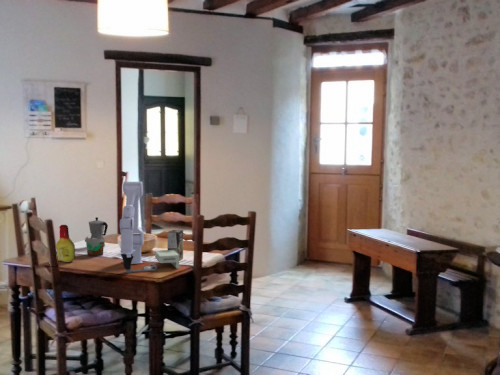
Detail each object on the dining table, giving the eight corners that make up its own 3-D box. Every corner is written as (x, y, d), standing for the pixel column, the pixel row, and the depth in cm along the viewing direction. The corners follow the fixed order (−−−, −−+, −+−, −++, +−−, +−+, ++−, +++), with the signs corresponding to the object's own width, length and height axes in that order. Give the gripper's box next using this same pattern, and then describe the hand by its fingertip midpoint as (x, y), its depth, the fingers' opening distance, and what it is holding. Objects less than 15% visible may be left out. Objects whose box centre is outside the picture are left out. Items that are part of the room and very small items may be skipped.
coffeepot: (83, 246, 346) (83, 217, 344) (95, 244, 354) (94, 215, 352) (101, 249, 338) (101, 219, 336) (113, 246, 346) (113, 217, 344)
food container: (80, 255, 321) (80, 238, 320) (87, 253, 327) (87, 236, 326) (98, 257, 317) (98, 239, 316) (105, 255, 322) (104, 238, 321)
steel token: (144, 270, 290) (144, 268, 290) (143, 268, 295) (143, 266, 295) (154, 269, 291) (154, 268, 291) (153, 267, 296) (153, 265, 296)
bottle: (53, 261, 307) (52, 224, 305) (62, 259, 312) (61, 222, 310) (68, 263, 301) (68, 226, 299) (77, 261, 306) (77, 224, 304)
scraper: (126, 273, 283) (126, 261, 282) (124, 267, 293) (123, 256, 293) (157, 271, 287) (157, 259, 287) (154, 266, 298) (154, 254, 297)
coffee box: (178, 262, 308) (178, 232, 307) (167, 261, 309) (167, 232, 308) (183, 258, 317) (183, 229, 316) (172, 257, 318) (172, 229, 317)
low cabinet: (160, 270, 290) (159, 256, 289) (155, 263, 304) (154, 250, 303) (179, 268, 293) (179, 255, 292) (173, 262, 307) (173, 249, 306)
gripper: (137, 244, 277) (137, 271, 278) (133, 238, 291) (133, 264, 292) (122, 245, 275) (122, 272, 276) (119, 239, 288) (119, 265, 290)
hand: (127, 268), depth 284 cm, fingers closed on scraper, 2 cm apart
